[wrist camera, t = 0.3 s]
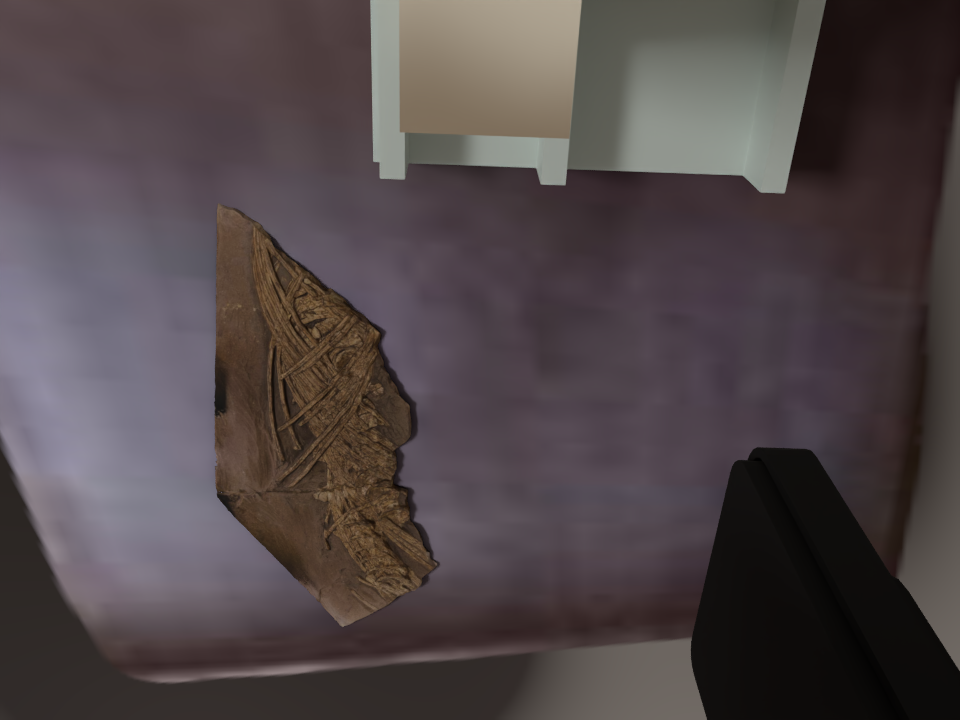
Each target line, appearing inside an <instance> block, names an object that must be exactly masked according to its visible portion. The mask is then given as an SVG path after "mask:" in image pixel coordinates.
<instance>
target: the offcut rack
mask: <svg viewBox="0 0 960 720" xmlns="http://www.w3.org/2000/svg"><path fill="white" fill-rule="evenodd" d="M825 3H826V0H582V3H581V14H580V26H579V37H578V48H577V59H576V70H575V81H574V92H573V104H572V115H571V126H570V137H569V139H562V138H536V137H509V136H483V135H457V134H430V133H404V132H400V82H399V0H371V53H372V108H373V162H380V179H405V176H406V172H407V168H408V163H420V164H447V165H474V166H501V167H528V168H537V172H538V176H539V179H540V183H541V184H545V185H566V173H567V169H582V170H609V171H637V172H664V173H691V174H718V175H743V176H744V177H745V178H746V179H747V180H748V181H749V182H750V183H751V184H752V185H753V186H754V187H756V188H757V189H758V190H759V191H760V192H766V193H785V190H786V185H787V180H788V176H789V171H790V166H791V162H792V157H793V152H794V148H795V143H796V138H797V134H798V129H799V124H800V120H801V115H802V110H803V106H804V101H805V96H806V92H807V87H808V82H809V78H810V73H811V68H812V64H813V59H814V54H815V50H816V45H817V40H818V36H819V31H820V26H821V22H822V17H823V12H824V8H825Z"/></svg>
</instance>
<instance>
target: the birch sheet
mask: <svg viewBox="0 0 960 720" xmlns="http://www.w3.org/2000/svg"><path fill="white" fill-rule="evenodd" d="M581 3H582V0H399V82H400V132H404V133H430V134H457V135H483V136H509V137H536V138H562V139H569V137H570V126H571V115H572V104H573V92H574V81H575V70H576V59H577V48H578V37H579V26H580V14H581Z"/></svg>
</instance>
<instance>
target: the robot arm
mask: <svg viewBox="0 0 960 720" xmlns="http://www.w3.org/2000/svg"><path fill="white" fill-rule="evenodd" d="M691 660H692V668H693V672H694V676H695V680H696V683H697V686H698V690H699V693H700V696H701V700H702V703H703V707H704V710H705V714H706V717H707V720H960V671H959V670H958V668H957V667H956V665H955V663H954V662H953V660H952V659H951V657H950V656H949V654H948V652H947V651H946V649H945V648H944V646H943V644H942V643H941V641H940V640H939V638H938V637H937V635H936V634H935V632H934V630H933V629H932V627H931V626H930V624H929V623H928V621H927V619H926V618H925V616H924V615H923V613H922V612H921V610H920V608H919V607H918V605H917V604H916V602H915V601H914V599H913V598H912V596H911V594H910V593H909V591H908V590H907V589H906V588H905V587H904V585H903V584H902V583H901V582H900V581H899V579H897V578H895V577H893V576H891V575H890V573H889V571H888V570H887V568H886V567H885V565H884V563H883V562H882V560H881V559H880V557H879V555H878V554H877V552H876V551H875V549H874V548H873V546H872V544H871V543H870V541H869V540H868V538H867V536H866V535H865V533H864V532H863V530H862V528H861V527H860V525H859V524H858V522H857V520H856V519H855V517H854V516H853V514H852V513H851V511H850V509H849V508H848V506H847V505H846V503H845V501H844V500H843V498H842V497H841V495H840V493H839V492H838V490H837V489H836V487H835V485H834V484H833V482H832V481H831V479H830V478H829V476H828V474H827V473H826V471H825V470H824V468H823V466H822V465H821V463H820V462H819V460H818V458H817V457H816V456H815V454H814V453H813V452H812V451H811V450H807V449H790V448H760V447H757V448H755V449H753V451H752V452H751V454H750V455H749V458H748V460H738V461H736V462H735V463H734V464H733V466H732V469H731V472H730V476H729V481H728V485H727V489H726V493H725V498H724V502H723V506H722V511H721V515H720V519H719V523H718V528H717V532H716V536H715V541H714V545H713V549H712V554H711V558H710V562H709V566H708V571H707V575H706V579H705V584H704V588H703V592H702V596H701V601H700V605H699V609H698V614H697V618H696V622H695V626H694V631H693V635H692V641H691Z"/></svg>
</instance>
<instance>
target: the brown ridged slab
mask: <svg viewBox="0 0 960 720" xmlns="http://www.w3.org/2000/svg"><path fill="white" fill-rule="evenodd" d="M216 275H217V280H216V291H217V294H216V306H217V312H216V358H215V385H216V389H215V402H214V403H215V452H216V455H217V456H216V458H217V461H216V463H217V465H218V466H215V470H216V471H215V475H216V489H217V497H218V498H219V499H220V501H221V502H222V503H223V504H224V505H225V506H226V507H227V509H228V511H230V512H231V513H232V515H233V516H234V517H235V518H236V519H237V520H238V521H239V522H240V523H241V524H242V525H243V526H244V527H245V528H246V529H247V530H248V531H249V532H250V533H251V534H252V535H253V536H254V537H255V538H256V539H257V540H258V541H259V542H260V543H261V544H262V545H263V546H265V547H266V549H267V550H268V551H269V552H270V553H271V554H272V555H273V556H274V557H275V558H276V559H277V560H278V561H279V562H280V563H281V564H282V565H283V566H284V567H285V568H286V569H287V570H288V571H289V572H290V573H291V574H292V576H293V577H294V578H296V579H297V580H298V581H299V582H300V583H301V584H302V585H303V586H304V587H305V588H307V590H308V591H309V593H310V594H312V595H313V596H315V598H316V600H317V601H319V602H320V603H321V604H322V605H323V607H324V608H325V609H326V610H327V611H328V612H329V613H330V614H331V616H333V617H334V619H335V620H336V621H337V622H338V623H339V624H340V625H341V626H342V627H344V626H346V625H349V624H351V623H353V622H355V621H356V620H359V619H361V618H363V617H366V616H368V615H370V614H371V613H373V612H375V611H377V610H379V609H381V608H384V607H386V606H388V605H389V604H390V603H391V602H392V601H393V600H394V599H395V598H396V597H398V596H401V595H404V594H405V593H406V592H410V591H414V590H416V589H417V588H418V587H419V586H420V585H421V583H422V577H423V576H425V575H426V574H427V573H429V572H430V571H431V570H433V569H434V568H435V567H436V566H437V563H436V562H435V561H434V560H432V559H431V557H430V552H429V551H428V550H426V548H425V547H424V546H423V540H422V536H421V534H420V531H419V532H418V530H417V528H416V527H415V526H414V524H413V523H412V522H411V521H410V516H409V514H410V507H409V505H408V501H407V499H408V489H405V488H402V487H399V486H395V485H394V484H393V480H394V477H395V476H394V473H395V470H396V468H397V461H396V453H395V450H396V449H397V448H398V447H399V446H401V445H402V444H404V443H405V442H406V441H407V440H408V439H409V438H410V436H411V416H410V406H409V404H408V403H406V402H405V401H404V400H403V399H402V398H401V397H400V395H399V392H398V389H397V387H396V385H395V384H394V383H393V382H392V380H391V378H390V376H389V374H388V373H387V371H386V369H385V368H384V362H383V359H382V357H381V355H380V353H379V348H378V347H377V346H378V344H379V342H380V339H381V333H380V332H379V331H378V330H377V329H376V328H375V327H374V326H373V325H372V324H371V323H370V322H369V321H368V319H367V318H366V317H365V316H364V315H362V314H361V313H359V312H357V311H355V310H354V309H352V308H351V306H350V305H349V304H348V303H347V302H346V301H345V300H344V299H343V298H342V297H341V296H339V295H337V294H336V293H335V292H334V291H333V290H332V289H331V288H330V289H326V288H324V287H323V286H322V285H321V283H320V282H319V280H317V279H316V278H315V277H314V276H312V275H311V274H310V273H309V272H307V271H305V270H304V269H303V268H302V267H300V266H299V265H297V264H296V263H295V262H294V261H292V260H291V259H290V258H288V257H287V256H286V255H285V253H283V252H282V251H281V250H278V249H276V248H275V247H274V246H273V244H272V241H271V238H270V236H269V235H268V234H267V233H266V232H265V230H264V229H263V228H262V226H261V225H260V224H259V223H258V222H255V221H253V220H252V219H251V218H249V217H247V216H246V215H245V214H243V213H241V212H240V211H238V210H237V209H235V208H230V207H226V206H224V205H221V204H218V208H217V264H216ZM219 491H220V492H219ZM221 492H222V493H221ZM224 492H226V493H224Z"/></svg>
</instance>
